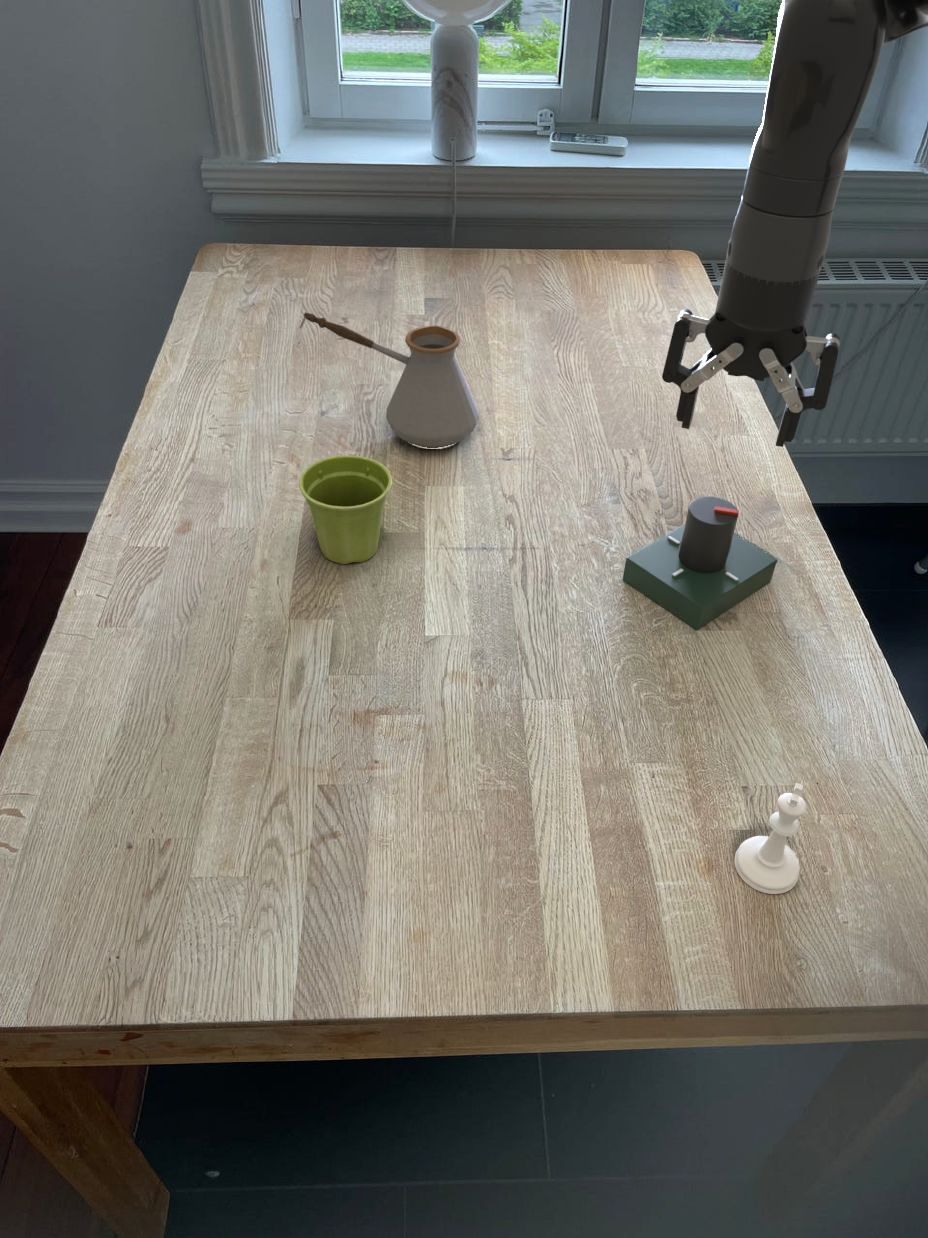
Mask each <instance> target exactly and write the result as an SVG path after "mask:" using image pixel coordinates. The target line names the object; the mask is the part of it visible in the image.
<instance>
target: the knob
mask: <svg viewBox="0 0 928 1238" xmlns="http://www.w3.org/2000/svg"><path fill="white" fill-rule="evenodd" d="M739 511H740V509H738V508H737V507H736V506H735V505H734V504H733V503H731V502H730V501H729V500H726V499H725V498H721V497H717V496H700V497H697V498H695V499H693V500H692V501H691V502H690V503H689V506H688V509H687V514H686V519H685V523H684V524H685V527H684V532H683V536H682V541H681V546H680V550H679V559H680V561H681V562H682V563H683V564H684V565H685V566H686V567H688V568H689V569H691V570H694V571H697V572H703V573H712V572H716V571H719V570H721V569H722V568H723V567H724V566H725V564H726V560H727V557H728V553H729V549H730V545H731V542H732V538H733V534H735V530H736V526H737V523H738V519H739Z"/></svg>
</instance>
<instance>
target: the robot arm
mask: <svg viewBox="0 0 928 1238" xmlns="http://www.w3.org/2000/svg"><path fill="white" fill-rule="evenodd" d="M924 28H928V0H782V3H781V5H780V9H779V11H778V17H777V27H776V37H775V45H774V51H773V57H772V63H771V69H770V74H769V81H768V84H767V85H768V86H767V91H766V97H765V104H764V110H763V116H762V123H761V125H760V127H759V128H758V131H757V133H756V136H755V139H754V142H753V145H752V148H751V152H750V153H751V154H750V156H749V162H748V166H747V171H746V176H745V180H744V185H743V189H742V195H741V200H740V203H739V205H738V209H737V211H736V214H735V218H734V220H733V223H732V224H733V225H732V228H731V233H730V238H729V240H728V242H727V246H726V257H725V262H724V267H723V271H722V277H721V282H720V287H719V292H718V296H717V301H716V306H715V311H714V314H712V315H711V317H710V318H706V317H702V316H701V317H700V316H695V315H694V313H693V312H692V311H691V309H689V308H684V309H682V310H681V311H680V312H679V314H678V316H677V317H676V320H675V323H674V325H673V330H672V334H671V338H670V342H669V346H668V350H667V355H666V359H665V362H664V367H663V371H662V374H661V378H662V380H663V381H664V382H665V383H667V384H671V383H672V384H674V385H676V386H677V387H678V388H679V390H680V392H679V393H680V395H679V399H678V405H677V409H676V415H675V416H676V421H678V422H680V423H681V422H682V423H681V428H682V429H684V430H685V429H686V430H690V427H691V425H692V421H693V419H694V413H695V409H696V404H697V400H698V394H699V388H700V386H701V385H702V384H704V383H705V382H706V381H709V380H710V379H712V378H713V377H714V376H715V375H716V374H718V373H719V372H720V371H721V370H724V371H725V372H726V373H727V376H732V377H748V378H749V379H753V380H755V381H760V382H764V381H765V380H767V379H771V380H772V383H773V384H774V386H775V389H776V390H777V393H779V394H781V396H782V398H783V400H784V402H785V407H784V411H783V415H782V417H781V420H780V421H781V422H780V425H779V430H778V433H777V436H776V441H775V445H774V446H775V447H780V448H784V446H785V442H786V443H791V442H792V441H793V440H794V438H795V435H796V432H797V429H798V425H799V421H800V419H801V415H802V413H803V412H804V411H806V410H809V409H814V410H815V411H822V410H824V409H825V408H826V406H827V404H828V399H829V395H830V390H831V386H832V382H833V379H834V378H833V377H834V373H835V368H836V365H837V360H838V356H839V351H840V344H841V337H840V336H839V334H838V333H834V332H833V333H829V334H827V335H826V337H820V336H813V335H808V333H807V327H806V325H807V322H808V318H809V315H810V312H811V307H812V304H813V300H814V297H815V293H816V289H817V285H818V282H819V278H820V274H821V271H822V267H823V266H824V265H825V264H824V263H825V260H826V252H827V250H828V249H827V248H828V246H829V241H830V237H831V229H832V222H833V214H834V210H835V205H836V202H837V198H838V195H839V190H840V187H841V183H842V180H843V176H844V172H845V169H846V166H847V160H848V156H849V149H850V143H851V139H852V135H853V133H854V130H855V128H856V126H857V125H858V121H859V119H860V115H861V114H862V110H863V108H864V105H865V103H866V101H867V98H868V94H869V91H870V88H871V85H872V83H873V80H874V77H875V74H876V71H877V67H878V65H879V62H880V61H879V60H880V58H881V55H882V50H883V46H884V45H886V44H889V43H891V42H893V41H896V40H898V39H901V38H904V37H905V36H907V35H910V34H912V33H914V32H915V33H916V32H917V31H919V30H922V29H924ZM700 334H701V335H702V334H704V336H705V339H706V340H707V343H708V345H709V347H710V349H709V350H708V351H706V352H705V354H703V356H702V357H701V358H700V359H699V360H698V361H697V362H695V363H694V364H693V365H692V366H691V367H687V366H685V365H683V364H682V361H683V358H684V354H685V350H686V345H687V343H693V342H694V341H695V340H696V339H697V337H698V336H699V335H700ZM805 351H806V352H808V353H809V354H810V359H811V363H812V364H814V365H816V366H818V370H817V375H816V379H815V384H814V387H813V388H804V387H803V384H802V382H801V380H800V379H799V376H798V373H797V368H796V366H795V364H794V363H793V362H794V361H795V360H797V358H798V357H800V356H801V355H803V354H804V352H805Z"/></svg>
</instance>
